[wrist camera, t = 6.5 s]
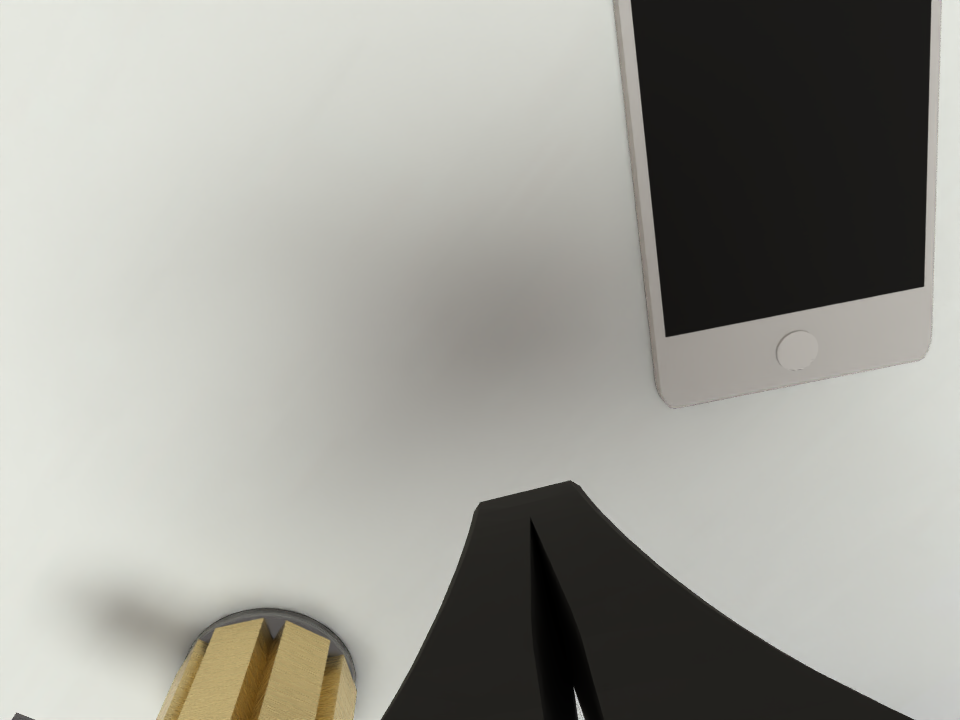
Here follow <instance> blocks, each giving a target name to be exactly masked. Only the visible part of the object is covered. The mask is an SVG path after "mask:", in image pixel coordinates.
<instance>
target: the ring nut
mask: <svg viewBox="0 0 960 720" xmlns="http://www.w3.org/2000/svg"><path fill="white" fill-rule="evenodd" d="M329 645H330V640H328V639H326V638H324V637H322V636H319V635H317V634H315V633H313V632H311V631H309V630H306V629H304V628H302V627H300V626H298V625H296V624H293V623H291V622H289V621H287V620H286V621H285V623H284V624H283V626H282V627H281V629H280V630H279V632H278V633H277V635H276V636H275V638H274V639H273V640H272V637H271V635H270V632H269V630H268V627H267V624H266V622H265V619H264V618H260V619H256V620H251V621H246V622H242V623H237V624H232V625H228V626H223V627H218V628H215V630H214V633H213V635H212V638H211V640H210V643H206V642H204V641H202V640H200V639H198V641H197V642H196V644H195V645H194V647H193V649H192V650H191V652H190V653H189V655H188V656H187V658H186V660H185V661H184V663H183V664H182V666H181V667H180V669H179V671H178V672H177V674H176V676H175V678H174V681H173V683H172V685H171V687H170V690H169V692H168V694H167V696H166V699H165V701H164V703H163V705H162V708H161V710H160V712H159V714H158V717H157V719H156V720H353V717H354V710H355V702H356V694H357V690H356V687H355V685H354V682H353V679H352V676H351V673H350V670H349V667H348V665H347V662H346V659H345V656H344V654H343V655H339V656H334V657H329V658H327V655H328V650H329ZM12 720H34V719H32V718H29V717H27V716H24V715H21V714H19V713H16V714H15V716H14V717H13V719H12Z"/></svg>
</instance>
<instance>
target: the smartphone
mask: <svg viewBox="0 0 960 720" xmlns="http://www.w3.org/2000/svg"><path fill="white" fill-rule="evenodd" d="M613 4H614V13H615V22H616V31H617V40H618V50H619V59H620V68H621V77H622V86H623V95H624V104H625V113H626V122H627V131H628V140H629V149H630V158H631V167H632V176H633V185H634V194H635V203H636V212H637V221H638V230H639V239H640V248H641V257H642V266H643V275H644V284H645V293H646V302H647V311H648V320H649V329H650V338H651V347H652V356H653V365H654V374H655V382H656V386H657V390H658V392H659V394H660V397H661V398H662V399H663V401H664V402H665V403H666V404H667V405H668V406H669V407H670V408H674V409H676V408H681V407H686V406H691V405H697V404H702V403H707V402H712V401H717V400H722V399H727V398H732V397H737V396H742V395H747V394H752V393H758V392H763V391H768V390H773V389H778V388H783V387H788V386H793V385H798V384H803V383H808V382H814V381H819V380H824V379H829V378H834V377H839V376H844V375H849V374H854V373H859V372H864V371H869V370H875V369H880V368H885V367H890V366H895V365H900V364H905V363H910V362H915V361H920V360H921V359H923V358H924V357H925V355H926V354H927V352H928V350H929V347H930V344H931V337H932V313H933V279H934V245H935V211H936V177H937V143H938V109H939V75H940V42H941V8H942V0H613Z"/></svg>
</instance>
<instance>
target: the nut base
mask: <svg viewBox="0 0 960 720" xmlns="http://www.w3.org/2000/svg"><path fill="white" fill-rule="evenodd" d="M260 618H264V619H265V622H266V624H267V627H268V630H269V632H270V635H271V637H272V640H273V639H274V638H275V636H276V635H277V633H278V632H279V630H280V629H281V627H282V626H283V624H284V623H285V621H286V620H287V621H289V622H291V623H293V624H296V625H298V626H300V627H302V628H304V629H306V630H309V631H311V632H313V633H315V634H317V635H319V636H322V637H324V638H326V639H328V640H330V645H329V650H328V655H327V658H329V657H334V656H339V655H343V654H344V656H345V659H346V662H347V665H348V667H349V670H350V673H351V676H352V679H353V682H354V685H355V669H354V665H353V662H352V659H351V656H350V654H349V652H348V650H347V649H346V647H345V646H344V644H343V643H342V642H341V641H340V639H339V638H338V637H337V636H336V635H335V634H334V633H333V632H331V631H330V630H329V629H328V628H326V627H325V626H323V625H322V624H320V623H319V622H317V621H315V620H313V619H311V618H309V617H306V616H303V615H301V614H298V613H294V612H290V611H285V610H278V609H254V610H248V611H243V612H239V613H236V614H232V615H230V616H227V617H225V618H223V619H221V620H219V621H217V622H216V623H214V624H212V625H211V626H210V627H208V628H207V629H206V630H205V631H204V632H203V633H202V634H201V635H200V636H199V637H198V638H197V639H196V641H195V642H194V643H193V645H192V647H191V649H190V651H189V653H190V652H191V650H192V649H193V647H194V645H195V644H196V642H197V641H198V639H200V640H202V641H204V642H206V643H210V640H211V638H212V635H213V633H214V630H215V628H218V627H223V626H228V625H232V624H237V623H242V622H246V621H251V620H256V619H260ZM189 653H188V655H189ZM188 655H187V656H188ZM186 658H187V657H186ZM185 660H186V659H185Z"/></svg>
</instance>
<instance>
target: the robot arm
mask: <svg viewBox="0 0 960 720" xmlns="http://www.w3.org/2000/svg"><path fill="white" fill-rule="evenodd" d="M574 689H575V692H576V695H577V698H578V701H579V703H580V706H581V709H582V712H583V715H584V718H585V720H914V719H912V718H910V717H908V716H905V715H903V714H901V713H899V712H897V711H895V710H893V709H891V708H889V707H887V706H885V705H883V704H881V703H879V702H877V701H875V700H873V699H871V698H869V697H867V696H865V695H863V694H861V693H859V692H857V691H855V690H853V689H851V688H849V687H847V686H845V685H843V684H841V683H839V682H837V681H835V680H833V679H831V678H829V677H827V676H825V675H823V674H821V673H819V672H817V671H815V670H813V669H811V668H810V667H808V666H806V665H805V664H803V663H801V662H799V661H798V660H796V659H794V658H792V657H791V656H789V655H787V654H785V653H784V652H782V651H780V650H779V649H777V648H775V647H773V646H772V645H770V644H769V643H767V642H765V641H764V640H762V639H761V638H759V637H758V636H756V635H754V634H753V633H751V632H750V631H748V630H746V629H745V628H743V627H742V626H740V625H739V624H737V623H736V622H734V621H733V620H731V619H730V618H728V617H727V616H725V615H724V614H722V613H721V612H720V611H718V610H717V609H715V608H714V607H712V606H711V605H710V604H708V603H707V602H705V601H704V600H703V599H701V598H700V597H699V596H697V595H696V594H695V593H693V592H692V591H691V590H690V589H688V588H687V587H686V586H684V585H683V584H682V583H680V582H679V581H678V580H676V579H675V578H674V577H673V576H671V575H670V574H669V573H668V572H667V571H665V570H664V569H663V568H662V567H660V566H659V565H658V564H657V563H656V562H655V561H653V560H652V559H651V558H650V557H649V556H648V555H647V554H645V553H644V552H643V551H642V550H641V549H640V548H639V547H637V546H636V545H635V544H634V543H633V542H632V541H631V540H629V539H628V538H627V537H626V536H625V535H624V534H623V533H622V532H621V531H620V530H619V529H618V528H617V527H616V526H615V525H614V524H613V523H612V522H611V521H610V520H609V519H608V518H607V517H606V516H605V515H604V514H603V513H602V512H601V511H600V510H599V509H598V508H597V507H596V505H595V504H594V503H593V502H592V501H591V500H590V498H589V497H588V496H587V495H586V494H585V492H584V491H583V490H582V488H581V487H580V486H579V485H577V484H576V483H574V482H572V481H571V480H570V481H566V482H562V483H558V484H553V485H549V486H545V487H541V488H537V489H533V490H529V491H525V492H521V493H517V494H512V495H508V496H504V497H500V498H496V499H492V500H488V501H484V502H480V504H479V505H478V507H477V508H476V510H475V511H474V514H473V518H472V522H471V526H470V530H469V533H468V536H467V539H466V543H465V546H464V549H463V551H462V554H461V557H460V560H459V563H458V565H457V568H456V571H455V573H454V575H453V578H452V580H451V583H450V585H449V588H448V590H447V593H446V595H445V598H444V600H443V602H442V605H441V607H440V609H439V612H438V614H437V616H436V618H435V620H434V622H433V624H432V626H431V628H430V630H429V633H428V635H427V637H426V639H425V641H424V643H423V645H422V647H421V649H420V651H419V653H418V655H417V657H416V659H415V661H414V663H413V665H412V667H411V669H410V671H409V672H408V674H407V676H406V678H405V680H404V681H403V683H402V685H401V687H400V689H399V690H398V692H397V694H396V695H395V697H394V699H393V701H392V702H391V704H390V706H389V707H388V709H387V711H386V712H385V714H384V715H383V717H382V719H381V720H578V716H577V708H576V701H575V694H574Z"/></svg>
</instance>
